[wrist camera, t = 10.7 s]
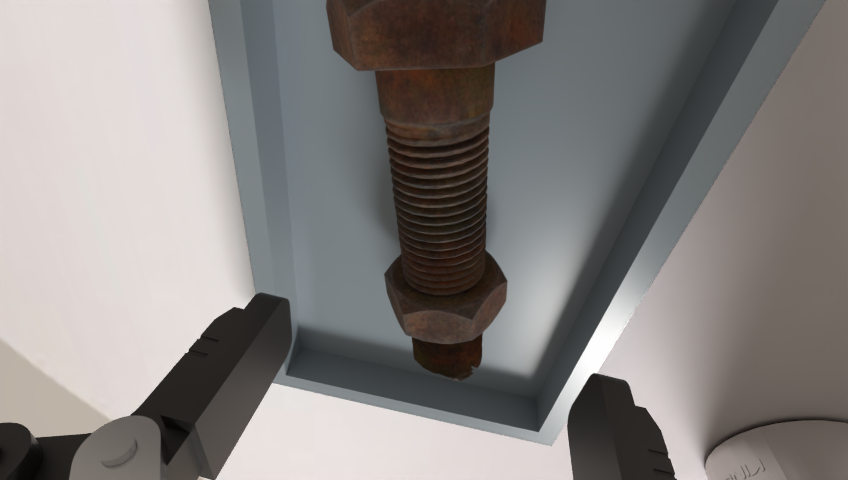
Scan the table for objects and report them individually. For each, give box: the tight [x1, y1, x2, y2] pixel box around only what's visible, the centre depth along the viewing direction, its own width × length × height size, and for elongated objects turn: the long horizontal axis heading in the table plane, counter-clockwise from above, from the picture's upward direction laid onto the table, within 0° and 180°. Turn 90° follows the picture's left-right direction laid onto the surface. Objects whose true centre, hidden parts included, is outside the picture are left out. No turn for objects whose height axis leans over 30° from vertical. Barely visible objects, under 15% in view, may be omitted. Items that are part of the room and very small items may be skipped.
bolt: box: [326, 0, 547, 381], centre depth 14 cm, size 6×5×15 cm
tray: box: [208, 0, 826, 446], centre depth 16 cm, size 16×24×3 cm, turn 174°
